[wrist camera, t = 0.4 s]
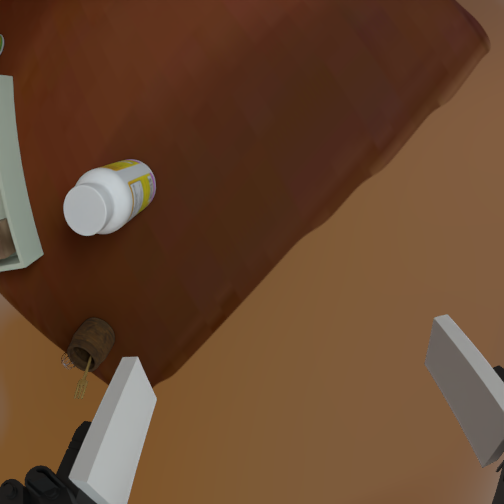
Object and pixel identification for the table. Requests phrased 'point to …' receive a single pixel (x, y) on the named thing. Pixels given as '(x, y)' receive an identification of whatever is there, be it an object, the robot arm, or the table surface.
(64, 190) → the table surface
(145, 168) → the supplement bottle
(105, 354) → the utensil holder
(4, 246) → the walnut block
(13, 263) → the tote
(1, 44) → the supplement bottle
